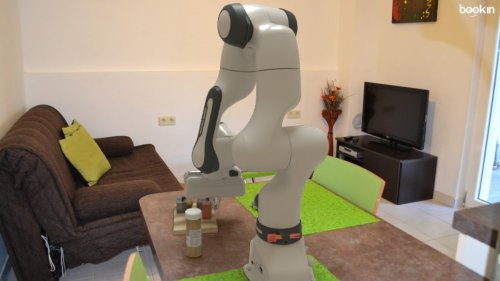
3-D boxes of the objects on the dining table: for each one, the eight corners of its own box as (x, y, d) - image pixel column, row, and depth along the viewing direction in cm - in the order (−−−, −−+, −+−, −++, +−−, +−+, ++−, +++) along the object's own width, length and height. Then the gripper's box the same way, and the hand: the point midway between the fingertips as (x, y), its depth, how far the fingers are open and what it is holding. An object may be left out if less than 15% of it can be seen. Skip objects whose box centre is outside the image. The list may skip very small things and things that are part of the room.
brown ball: (193, 209, 141) (193, 200, 140) (183, 210, 141) (182, 200, 140) (193, 205, 145) (192, 196, 144) (182, 206, 144) (182, 197, 143)
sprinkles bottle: (186, 250, 117) (185, 207, 114) (202, 250, 117) (201, 207, 114) (185, 258, 113) (184, 214, 109) (202, 258, 113) (201, 213, 110)
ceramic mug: (282, 207, 149) (282, 188, 147) (270, 215, 142) (271, 194, 141) (258, 202, 155) (258, 183, 153) (246, 208, 148) (246, 189, 147)
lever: (212, 218, 134) (212, 204, 133) (194, 218, 134) (194, 204, 133) (215, 200, 150) (214, 187, 149) (199, 200, 150) (199, 187, 149)
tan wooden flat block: (221, 231, 129) (221, 216, 128) (173, 235, 126) (173, 219, 125) (215, 204, 151) (215, 191, 150) (174, 206, 149) (174, 193, 147)
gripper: (183, 174, 128) (184, 214, 131) (246, 171, 131) (246, 211, 134) (183, 168, 134) (184, 207, 137) (243, 166, 137) (243, 204, 140)
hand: (215, 209), depth 136 cm, fingers closed
